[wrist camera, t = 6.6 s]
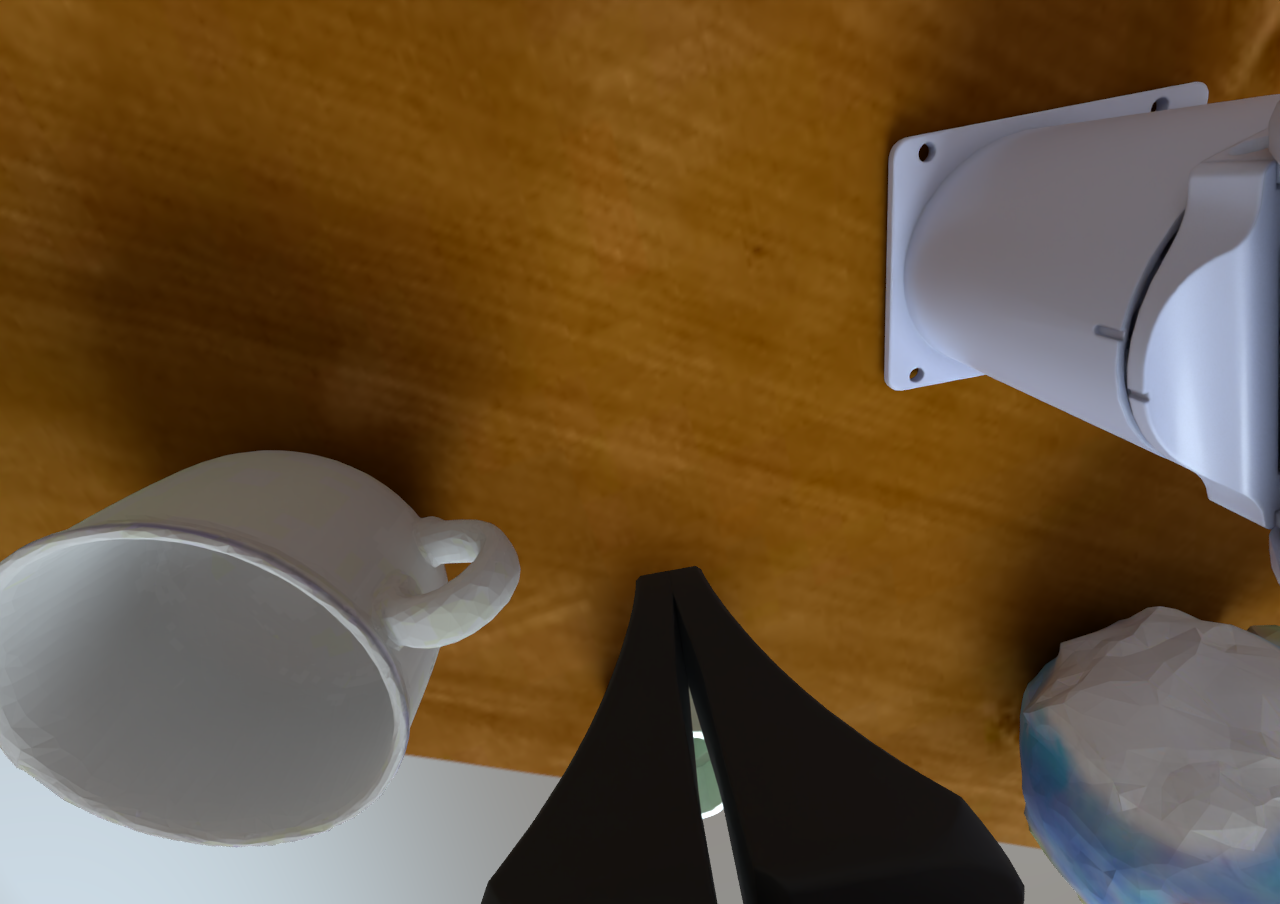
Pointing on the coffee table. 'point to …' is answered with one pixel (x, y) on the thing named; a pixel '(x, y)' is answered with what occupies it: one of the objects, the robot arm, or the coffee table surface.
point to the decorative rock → (1158, 761)
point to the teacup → (236, 646)
